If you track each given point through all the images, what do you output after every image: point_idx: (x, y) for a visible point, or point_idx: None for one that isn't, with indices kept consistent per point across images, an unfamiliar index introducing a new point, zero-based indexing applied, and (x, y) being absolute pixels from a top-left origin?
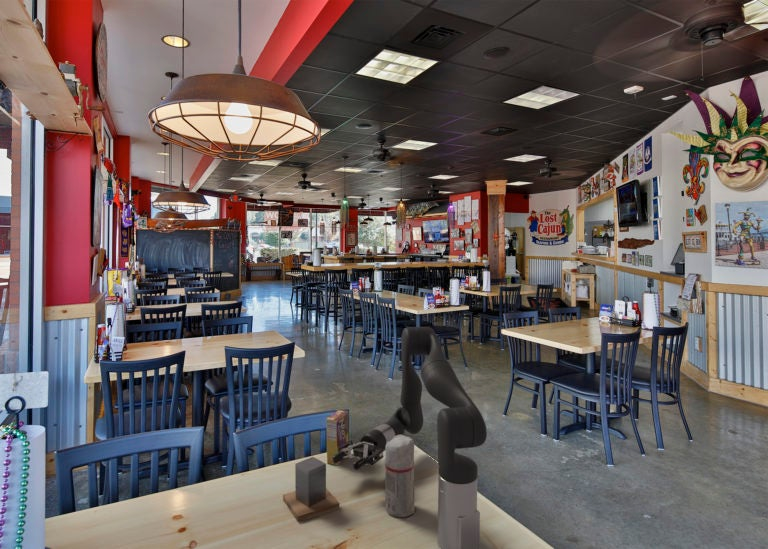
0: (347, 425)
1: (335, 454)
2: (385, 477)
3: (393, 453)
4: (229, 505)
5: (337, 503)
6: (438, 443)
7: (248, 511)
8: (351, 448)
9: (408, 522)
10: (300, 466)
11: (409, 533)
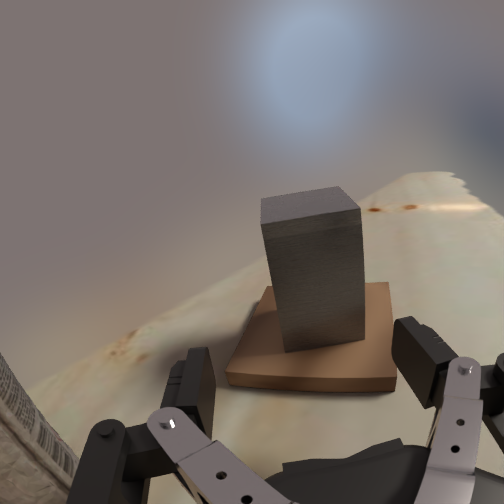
0: None
1: (441, 338)
2: (9, 369)
3: None
4: (415, 237)
5: (229, 366)
6: None
7: (377, 251)
8: (436, 426)
9: None
10: (309, 191)
11: None
